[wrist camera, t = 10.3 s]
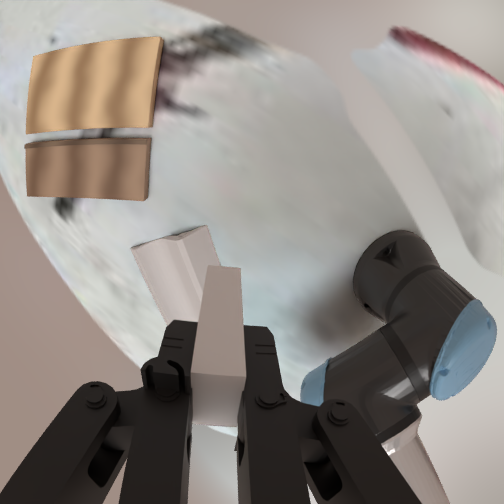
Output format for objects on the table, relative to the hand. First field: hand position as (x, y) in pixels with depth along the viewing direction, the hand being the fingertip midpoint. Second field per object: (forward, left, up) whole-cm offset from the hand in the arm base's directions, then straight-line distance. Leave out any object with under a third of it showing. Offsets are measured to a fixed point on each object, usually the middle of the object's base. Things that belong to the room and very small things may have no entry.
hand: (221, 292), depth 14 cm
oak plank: (+20, -13, -25) cm, 35 cm away
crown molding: (+2, +22, -27) cm, 35 cm away
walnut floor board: (+20, -1, -26) cm, 33 cm away
